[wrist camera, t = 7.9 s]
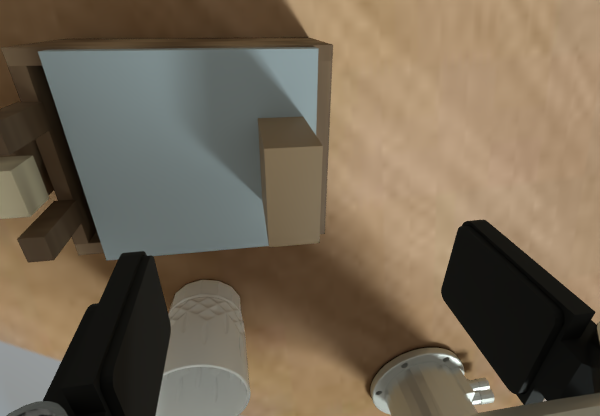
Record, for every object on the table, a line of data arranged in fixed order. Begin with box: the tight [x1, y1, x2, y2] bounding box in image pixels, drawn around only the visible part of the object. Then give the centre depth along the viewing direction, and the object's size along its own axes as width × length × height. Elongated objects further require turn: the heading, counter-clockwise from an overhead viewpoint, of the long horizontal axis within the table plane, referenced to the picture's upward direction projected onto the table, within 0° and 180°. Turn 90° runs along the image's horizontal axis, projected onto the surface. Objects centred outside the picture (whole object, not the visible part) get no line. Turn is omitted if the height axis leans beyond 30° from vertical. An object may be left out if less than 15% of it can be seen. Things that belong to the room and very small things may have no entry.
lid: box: [38, 47, 323, 260], centre depth 18 cm, size 13×12×6 cm
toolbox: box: [0, 38, 333, 262], centre depth 21 cm, size 20×12×11 cm, turn 90°
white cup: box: [156, 280, 250, 416], centre depth 31 cm, size 8×8×10 cm
